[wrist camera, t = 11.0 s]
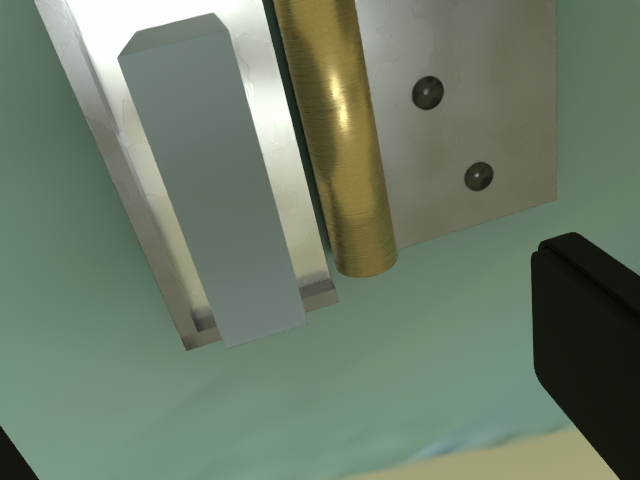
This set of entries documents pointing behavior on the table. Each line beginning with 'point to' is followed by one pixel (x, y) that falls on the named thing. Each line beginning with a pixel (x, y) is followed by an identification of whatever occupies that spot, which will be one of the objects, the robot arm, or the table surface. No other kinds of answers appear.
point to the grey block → (214, 173)
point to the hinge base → (339, 125)
